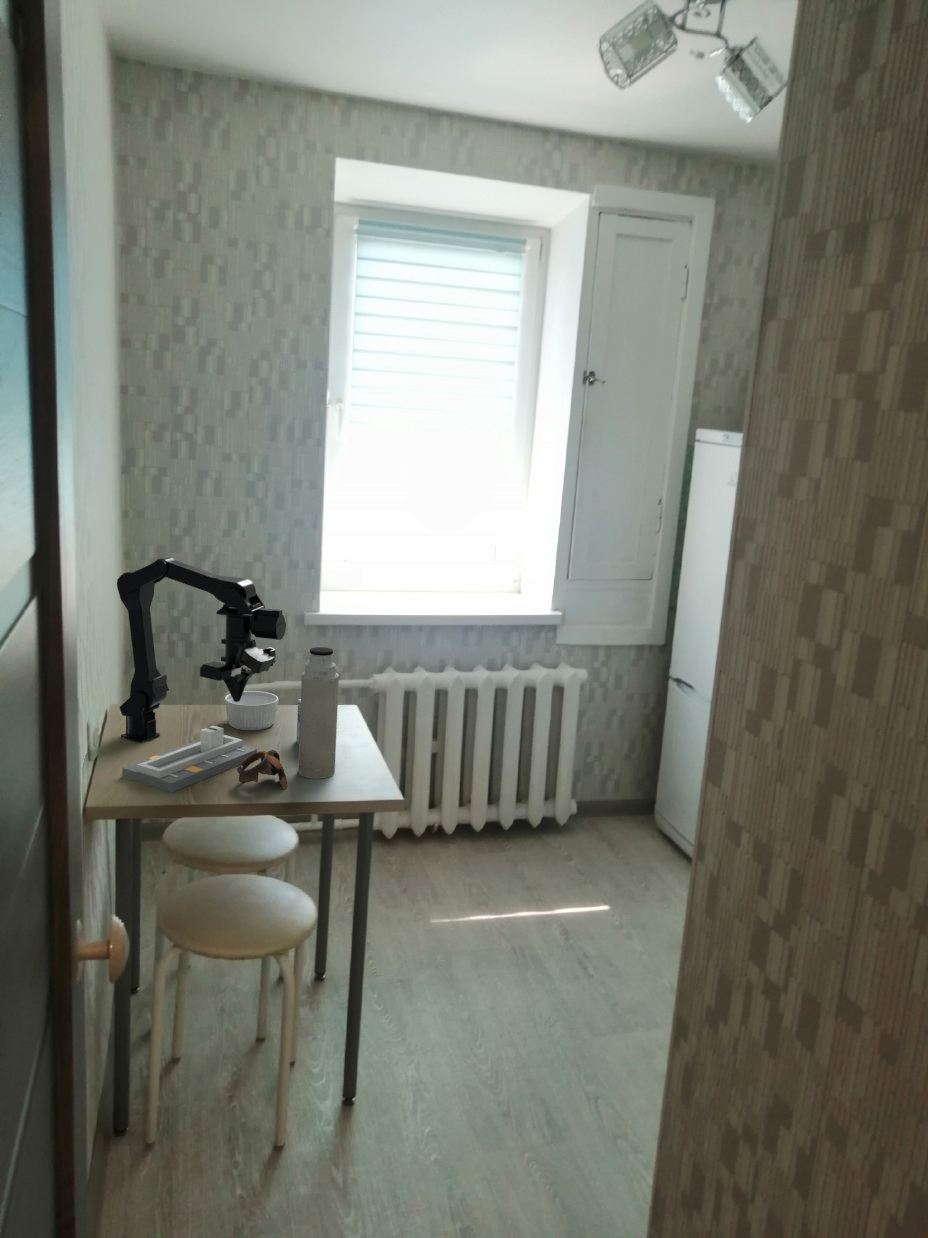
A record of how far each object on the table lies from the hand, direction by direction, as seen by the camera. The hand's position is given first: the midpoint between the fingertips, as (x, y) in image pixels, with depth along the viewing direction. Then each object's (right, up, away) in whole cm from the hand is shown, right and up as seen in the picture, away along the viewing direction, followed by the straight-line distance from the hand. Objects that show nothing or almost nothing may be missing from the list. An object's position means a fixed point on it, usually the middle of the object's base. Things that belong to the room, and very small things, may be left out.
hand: (236, 701), depth 210 cm
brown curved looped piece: (+10, -16, -16) cm, 25 cm away
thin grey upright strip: (+17, -12, +8) cm, 22 cm away
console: (-7, -13, -10) cm, 18 cm away
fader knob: (-4, -10, -5) cm, 12 cm away
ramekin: (-2, -8, +22) cm, 23 cm away
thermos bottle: (+20, -15, -8) cm, 26 cm away
